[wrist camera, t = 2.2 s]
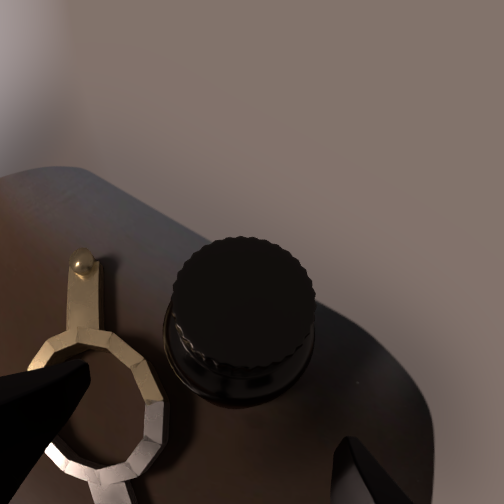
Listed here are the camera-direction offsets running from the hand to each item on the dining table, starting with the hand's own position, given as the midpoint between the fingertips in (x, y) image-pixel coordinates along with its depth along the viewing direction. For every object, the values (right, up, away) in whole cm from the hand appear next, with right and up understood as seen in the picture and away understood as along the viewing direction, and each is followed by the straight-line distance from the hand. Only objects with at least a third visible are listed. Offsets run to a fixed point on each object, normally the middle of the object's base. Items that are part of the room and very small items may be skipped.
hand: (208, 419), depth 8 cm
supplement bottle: (0, -3, +11) cm, 12 cm away
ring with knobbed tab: (-11, -1, +11) cm, 16 cm away
